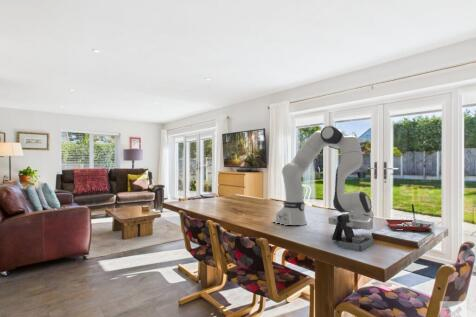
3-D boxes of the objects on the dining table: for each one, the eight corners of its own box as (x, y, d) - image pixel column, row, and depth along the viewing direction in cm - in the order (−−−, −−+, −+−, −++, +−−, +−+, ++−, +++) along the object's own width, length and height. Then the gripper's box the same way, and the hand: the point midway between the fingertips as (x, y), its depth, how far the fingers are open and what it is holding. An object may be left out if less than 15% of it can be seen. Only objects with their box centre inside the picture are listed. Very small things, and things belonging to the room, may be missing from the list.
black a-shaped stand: (356, 240, 128) (355, 214, 128) (350, 243, 124) (349, 216, 124) (338, 237, 134) (337, 212, 135) (331, 239, 130) (331, 214, 131)
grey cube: (352, 246, 124) (351, 237, 124) (356, 244, 127) (355, 235, 127) (361, 247, 121) (360, 238, 121) (364, 245, 124) (364, 237, 124)
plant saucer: (390, 231, 149) (390, 225, 149) (385, 224, 166) (385, 218, 166) (429, 233, 143) (429, 226, 143) (419, 225, 160) (419, 220, 160)
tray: (338, 246, 123) (338, 241, 123) (352, 240, 133) (352, 234, 134) (360, 251, 116) (360, 245, 116) (373, 243, 126) (373, 238, 126)
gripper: (335, 211, 146) (322, 215, 136) (375, 216, 131) (364, 221, 121) (335, 223, 146) (322, 228, 136) (376, 229, 131) (364, 235, 121)
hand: (342, 224), depth 129 cm, fingers closed on black a-shaped stand
